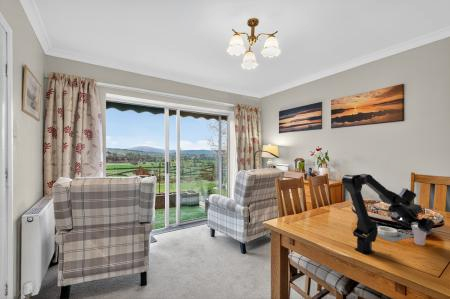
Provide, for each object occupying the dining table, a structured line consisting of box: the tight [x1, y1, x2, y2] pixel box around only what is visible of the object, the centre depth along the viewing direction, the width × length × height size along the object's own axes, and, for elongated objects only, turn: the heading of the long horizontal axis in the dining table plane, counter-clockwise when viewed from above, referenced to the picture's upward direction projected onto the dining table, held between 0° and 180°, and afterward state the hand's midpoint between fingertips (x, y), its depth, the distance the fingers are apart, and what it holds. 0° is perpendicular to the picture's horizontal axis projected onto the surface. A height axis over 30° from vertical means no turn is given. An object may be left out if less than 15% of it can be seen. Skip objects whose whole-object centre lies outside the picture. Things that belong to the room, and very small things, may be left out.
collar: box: [377, 225, 398, 237], centre depth 128 cm, size 10×10×2 cm
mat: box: [376, 231, 414, 243], centre depth 128 cm, size 20×18×1 cm
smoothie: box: [411, 217, 427, 246], centre depth 113 cm, size 6×6×14 cm
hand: (420, 230), depth 114 cm, fingers open, 9 cm apart
